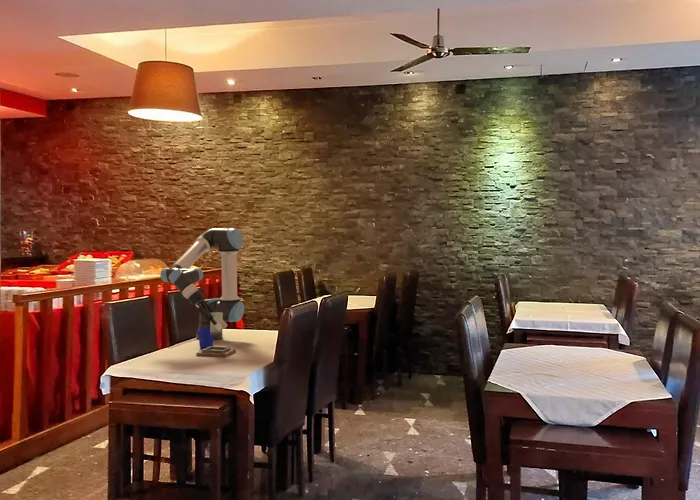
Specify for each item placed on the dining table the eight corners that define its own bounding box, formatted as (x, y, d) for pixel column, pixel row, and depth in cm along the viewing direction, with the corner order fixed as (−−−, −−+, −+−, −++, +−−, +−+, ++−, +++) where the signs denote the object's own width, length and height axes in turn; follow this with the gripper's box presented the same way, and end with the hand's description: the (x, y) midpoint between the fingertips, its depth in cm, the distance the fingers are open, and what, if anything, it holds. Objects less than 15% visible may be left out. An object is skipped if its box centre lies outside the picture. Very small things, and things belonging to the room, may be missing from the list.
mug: (218, 345, 332) (218, 327, 332) (211, 349, 320) (211, 330, 320) (203, 345, 333) (204, 326, 333) (196, 348, 321) (196, 330, 321)
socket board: (208, 350, 316) (208, 345, 316) (235, 352, 314) (235, 346, 314) (196, 355, 301) (196, 350, 301) (225, 357, 299) (225, 351, 299)
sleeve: (212, 333, 310) (213, 311, 310) (224, 334, 310) (224, 312, 310) (208, 335, 305) (208, 313, 305) (219, 335, 304) (220, 313, 304)
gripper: (195, 298, 319) (224, 330, 316) (180, 301, 300) (210, 335, 298) (205, 288, 318) (234, 320, 315) (190, 290, 299) (221, 325, 297)
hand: (223, 328), depth 306 cm, fingers closed on sleeve, 6 cm apart
